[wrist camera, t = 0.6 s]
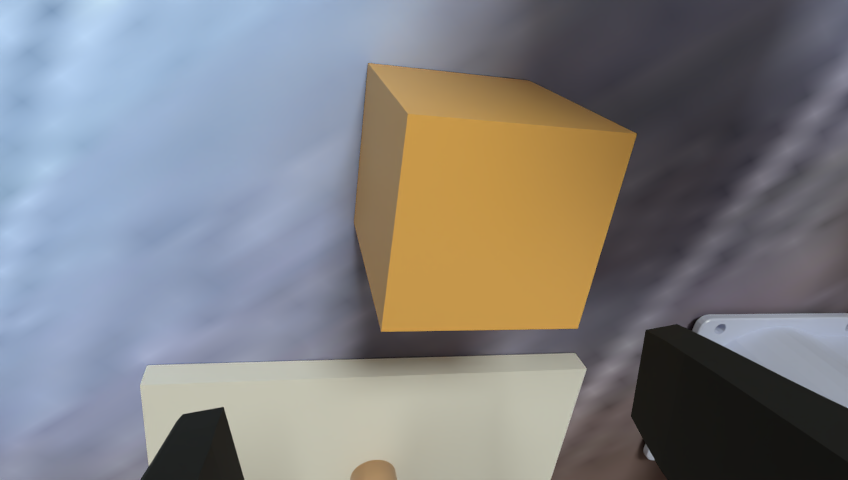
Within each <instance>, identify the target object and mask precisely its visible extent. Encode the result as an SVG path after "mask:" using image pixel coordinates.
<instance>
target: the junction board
mask: <svg viewBox="0 0 848 480" xmlns="http://www.w3.org/2000/svg"><path fill="white" fill-rule="evenodd" d="M585 373H586V367H585V366H584V364H583V363H582V362H581V360H580V359H579V358H578V356H577V355H576V354H575V353H560V354H524V355H489V356H454V357H419V358H384V359H349V360H313V361H278V362H243V363H208V364H173V365H147V367H146V370H145V373H144V376H143V379H142V381H141V384H140V389H141V398H142V407H143V417H144V426H145V435H146V445H147V454H148V463H149V465H150V464H151V462H152V461H153V459H154V457H155V456H156V454H157V452H158V451H159V449H160V448H161V446H162V444H163V443H164V441H165V439H166V438H167V436H168V435H169V433H170V431H171V430H172V428H173V426H174V425H175V423H176V421H177V420H178V419H179V418H180V417H181V416H182V414H187V413H192V412H198V411H203V410H209V409H214V408H220V407H224V410H225V414H226V417H227V420H228V424H229V427H230V431H231V434H232V438H233V441H234V445H235V448H236V452H237V455H238V459H239V462H240V466H241V469H242V473H243V476H244V480H551V477H552V474H553V471H554V468H555V465H556V462H557V459H558V456H559V452H560V449H561V446H562V443H563V440H564V437H565V434H566V431H567V428H568V425H569V422H570V419H571V416H572V412H573V409H574V406H575V403H576V400H577V397H578V394H579V391H580V388H581V385H582V382H583V379H584V376H585Z"/></svg>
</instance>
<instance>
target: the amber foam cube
mask: <svg viewBox="0 0 848 480" xmlns="http://www.w3.org/2000/svg"><path fill="white" fill-rule="evenodd" d="M636 136H637V133H635V132H633V131H631V130H629V129H626V128H624V127H622V126H620V125H618V124H616V123H614V122H612V121H610V120H608V119H606V118H604V117H602V116H600V115H598V114H596V113H594V112H592V111H590V110H588V109H586V108H584V107H582V106H580V105H578V104H576V103H574V102H572V101H570V100H568V99H566V98H564V97H562V96H560V95H558V94H556V93H554V92H552V91H550V90H547V89H545V88H543V87H541V86H539V85H537V84H535V83H533V82H531V81H529V80H520V79H511V78H501V77H492V76H483V75H474V74H465V73H455V72H446V71H437V70H428V69H419V68H409V67H400V66H391V65H382V64H372V63H368V69H367V80H366V92H365V103H364V114H363V125H362V137H361V148H360V159H359V171H358V182H357V193H356V205H355V216H354V225H355V229H356V233H357V237H358V241H359V245H360V249H361V253H362V257H363V261H364V265H365V269H366V273H367V277H368V281H369V285H370V289H371V293H372V297H373V301H374V305H375V309H376V313H377V317H378V321H379V325H380V329H381V332H396V331H459V330H521V329H578V326H579V323H580V319H581V316H582V313H583V310H584V306H585V303H586V300H587V297H588V293H589V290H590V287H591V283H592V280H593V277H594V274H595V270H596V267H597V264H598V260H599V257H600V254H601V251H602V247H603V244H604V241H605V237H606V234H607V231H608V228H609V224H610V221H611V218H612V215H613V211H614V208H615V205H616V201H617V198H618V195H619V192H620V188H621V185H622V182H623V178H624V175H625V172H626V169H627V165H628V162H629V159H630V155H631V152H632V149H633V146H634V142H635V139H636Z"/></svg>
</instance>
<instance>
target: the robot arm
mask: <svg viewBox="0 0 848 480" xmlns="http://www.w3.org/2000/svg"><path fill="white" fill-rule="evenodd" d="M631 417H632V419H633V421H634V423H635V424H636V426H637V428H638V430H639V432H640V434H641V436H642V438H643V440H644V441H645V443H646V444H645V446H644V449H643V452H644V454H645V456H646V457H647V458H648V459H649V460H655V461H656V463H657V464H658V466H659V468H660V469H661V471H662V472H663V474H664V475H665V477H666V478H667V479H668V480H848V313H807V314H708V315H704V316H702V317H700V318H699V319H698V320H697V321H696V323H695V325H694V327H693V330H692V331H691V330H689V329H686V328H684V327H682V326H680V325H677V324H676V325H671V326H665V327H660V328H654V329H649V330H646V332H645V338H644V344H643V350H642V355H641V361H640V367H639V373H638V379H637V385H636V390H635V396H634V402H633V408H632V414H631ZM141 480H244V476H243V473H242V469H241V466H240V462H239V459H238V455H237V452H236V448H235V445H234V441H233V438H232V434H231V431H230V427H229V424H228V420H227V417H226V414H225V410H224V407H220V408H214V409H209V410H203V411H198V412H192V413H187V414H182V416H181V417H180V418H179V419H178V420H177V421H176V423H175V425H174V426H173V428H172V430H171V431H170V433H169V435H168V436H167V438H166V439H165V441H164V443H163V444H162V446H161V448H160V449H159V451H158V452H157V454H156V456H155V457H154V459H153V461H152V462H151V464H150V465H149V467H148V469H147V470H146V472H145V473H144V475H143V477H142V478H141Z"/></svg>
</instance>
